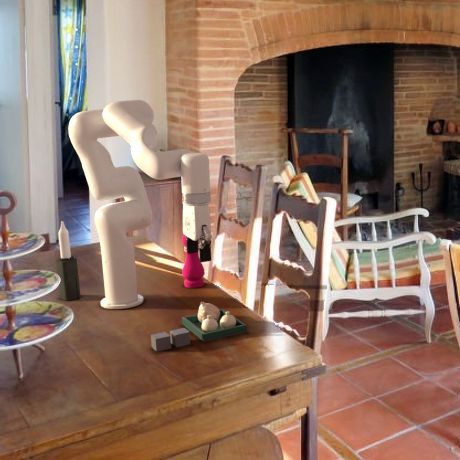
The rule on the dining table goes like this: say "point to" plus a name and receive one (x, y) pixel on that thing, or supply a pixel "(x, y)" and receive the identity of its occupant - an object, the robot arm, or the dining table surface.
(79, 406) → the dining table surface
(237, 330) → the green tray
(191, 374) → the dining table surface
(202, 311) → the garlic bulb
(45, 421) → the dining table surface
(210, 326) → the white bulb
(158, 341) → the grey block
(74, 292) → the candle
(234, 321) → the white bulb
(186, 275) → the pepper mill
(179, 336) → the grey block
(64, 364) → the dining table surface
